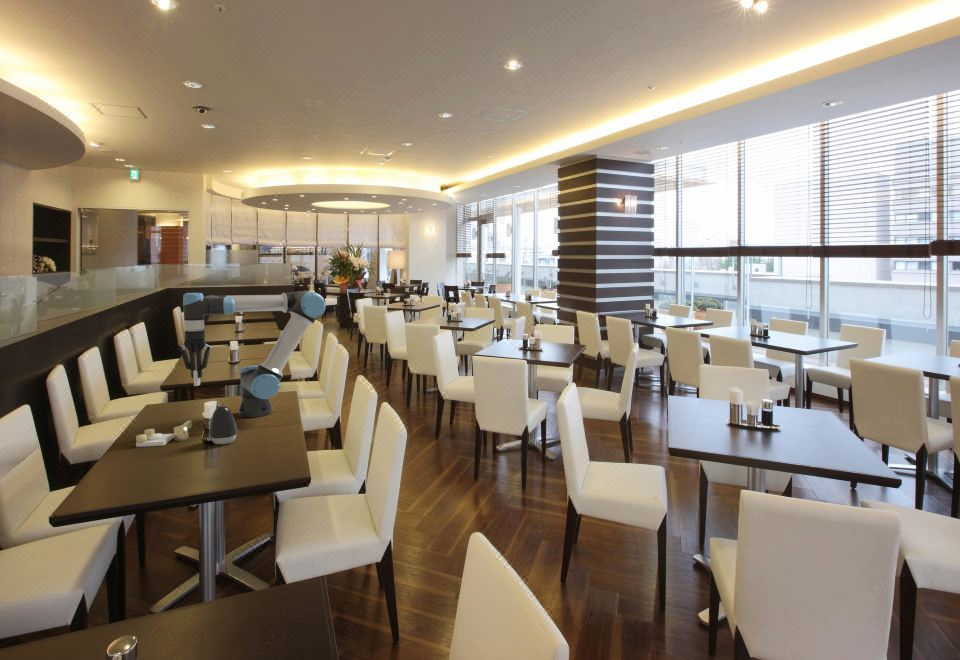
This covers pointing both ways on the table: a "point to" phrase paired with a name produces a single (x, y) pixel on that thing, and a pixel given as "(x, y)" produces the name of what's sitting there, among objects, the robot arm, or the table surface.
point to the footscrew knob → (182, 431)
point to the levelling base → (152, 438)
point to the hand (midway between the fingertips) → (197, 385)
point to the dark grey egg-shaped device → (222, 426)
